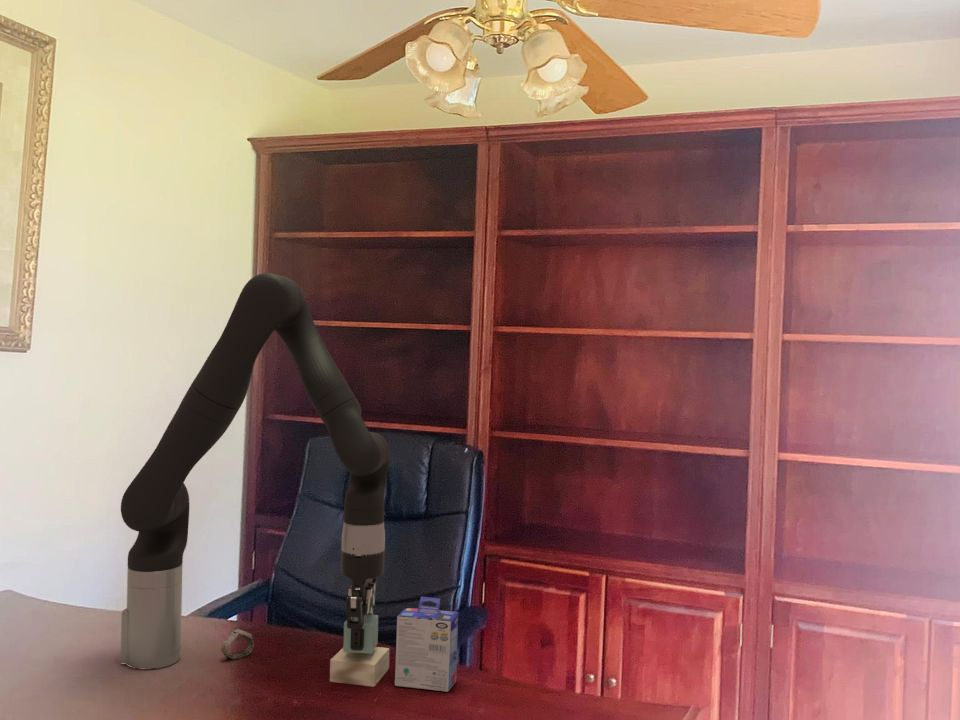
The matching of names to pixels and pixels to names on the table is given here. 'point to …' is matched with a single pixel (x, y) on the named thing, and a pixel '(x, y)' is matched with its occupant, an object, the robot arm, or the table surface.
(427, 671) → the ink cartridge box
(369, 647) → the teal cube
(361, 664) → the ash block
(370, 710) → the table surface
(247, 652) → the wristwatch
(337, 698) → the table surface
